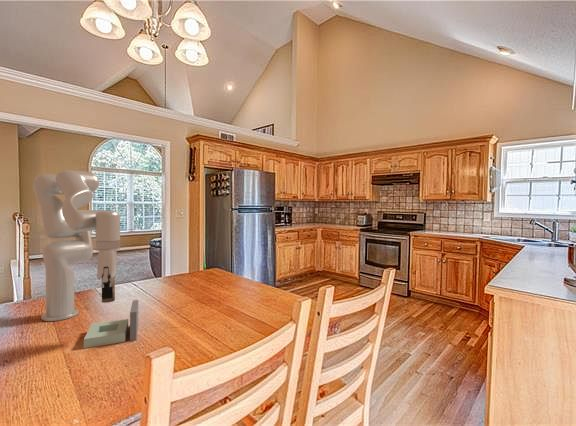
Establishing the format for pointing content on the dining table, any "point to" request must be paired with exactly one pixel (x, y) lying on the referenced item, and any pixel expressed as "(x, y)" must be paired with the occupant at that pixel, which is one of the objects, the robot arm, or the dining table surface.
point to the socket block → (106, 333)
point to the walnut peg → (113, 292)
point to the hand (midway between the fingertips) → (108, 295)
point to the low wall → (134, 320)
